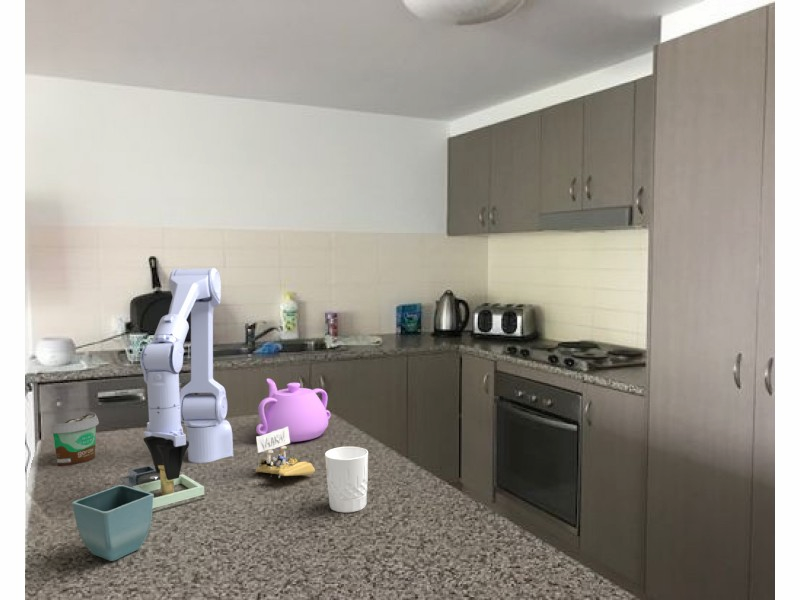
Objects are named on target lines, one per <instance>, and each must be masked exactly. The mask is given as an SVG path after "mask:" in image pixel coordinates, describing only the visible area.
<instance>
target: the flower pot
mask: <svg viewBox="0 0 800 600" xmlns="http://www.w3.org/2000/svg"><path fill="white" fill-rule="evenodd" d="M153 497H155V495H154V493H153V492H151V491H149V492H145V491H142V490H138V489H134V488H131V487H130V486H129V485H123V484H119V485H115V486H111V487H110V488H107V489H104V490H101V491H100V492H96V493H93V494H90V495H88V496H85V497H82V498H80V499H76V500H73V501H72V502H71V504H72V509H73V515H74V519H75V523H76V528H77V530H78V534H79V536H80V539H81V540H82V542H83V544H84V545H85V546H86V548H87V549H88V551H90V552H91V554H92V555H94V556H97V557H100V558H101V559H104V560H107V561H110V562H114V561H117V560H119V559H121V558H123V557H125V556H127V555H129V554H132V553H134V552H136V551H138V550H139V549H140V548H141V547H142V545H143V543H144V542H145V541H146V538H147V536H148V534H149V531H150V529H151V525H152V519H153V514H152V512H153V509H154V508H153Z"/></svg>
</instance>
